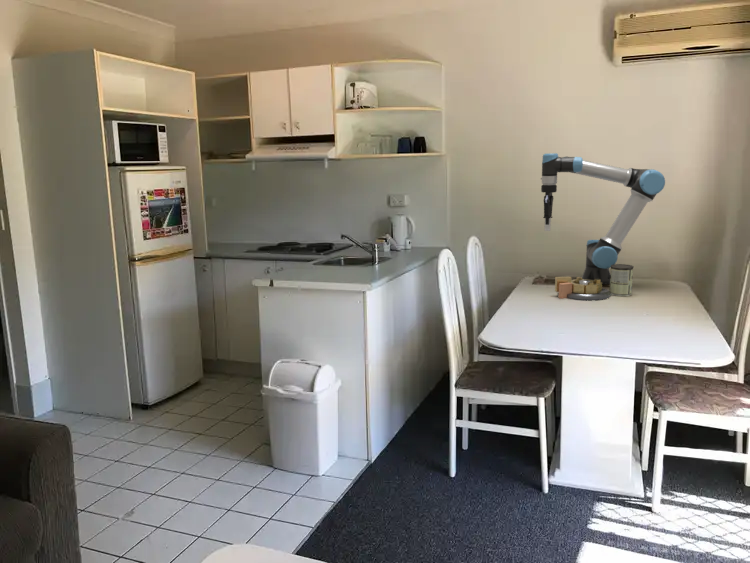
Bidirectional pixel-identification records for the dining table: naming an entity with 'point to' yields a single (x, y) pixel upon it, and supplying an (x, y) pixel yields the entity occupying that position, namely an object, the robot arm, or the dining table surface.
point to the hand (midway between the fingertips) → (547, 230)
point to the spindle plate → (599, 296)
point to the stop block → (564, 290)
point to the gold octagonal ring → (580, 285)
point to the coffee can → (621, 280)
